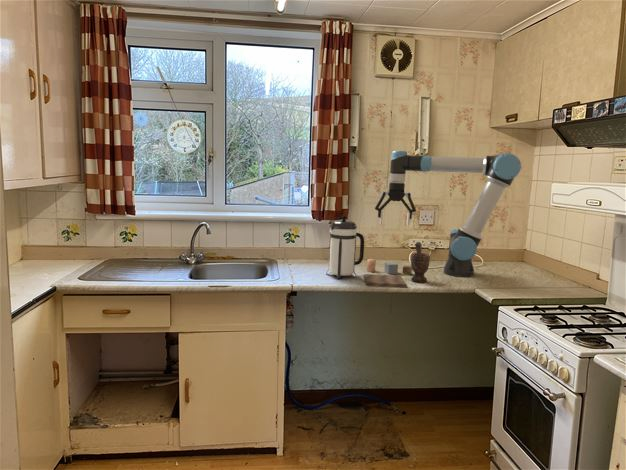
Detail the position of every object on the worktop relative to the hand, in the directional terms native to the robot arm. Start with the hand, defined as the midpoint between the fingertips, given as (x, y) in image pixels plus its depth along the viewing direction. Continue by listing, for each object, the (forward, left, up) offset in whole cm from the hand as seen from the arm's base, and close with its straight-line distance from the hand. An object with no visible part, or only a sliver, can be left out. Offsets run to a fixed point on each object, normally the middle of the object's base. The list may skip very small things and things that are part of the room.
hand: (394, 224), depth 228 cm
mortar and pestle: (-11, +16, -25) cm, 32 cm away
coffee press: (+25, +10, -25) cm, 37 cm away
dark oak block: (-8, +1, -25) cm, 26 cm away
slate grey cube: (0, 0, -25) cm, 25 cm away
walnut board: (+6, +19, -25) cm, 32 cm away
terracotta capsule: (+10, -2, -25) cm, 27 cm away
